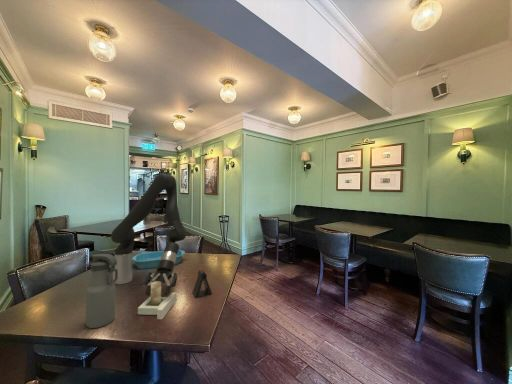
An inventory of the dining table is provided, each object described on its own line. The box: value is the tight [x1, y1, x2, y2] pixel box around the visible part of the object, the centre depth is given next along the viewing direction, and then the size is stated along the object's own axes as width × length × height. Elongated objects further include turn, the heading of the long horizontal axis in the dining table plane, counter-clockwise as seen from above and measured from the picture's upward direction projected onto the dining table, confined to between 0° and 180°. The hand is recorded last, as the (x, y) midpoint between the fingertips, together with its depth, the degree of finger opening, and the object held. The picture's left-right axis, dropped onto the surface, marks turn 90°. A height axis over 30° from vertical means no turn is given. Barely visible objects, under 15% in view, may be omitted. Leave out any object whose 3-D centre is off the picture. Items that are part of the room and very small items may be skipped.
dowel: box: [150, 280, 162, 306], centre depth 99 cm, size 4×4×12 cm
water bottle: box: [85, 253, 118, 329], centre depth 89 cm, size 10×10×28 cm
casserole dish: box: [132, 249, 186, 270], centre depth 161 cm, size 37×22×7 cm, turn 115°
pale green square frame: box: [137, 296, 169, 316], centre depth 99 cm, size 10×10×3 cm
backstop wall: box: [156, 291, 178, 320], centre depth 98 cm, size 2×16×4 cm, turn 179°
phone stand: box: [192, 269, 213, 299], centre depth 113 cm, size 9×6×12 cm, turn 121°
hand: (156, 295), depth 97 cm, fingers open, 8 cm apart
